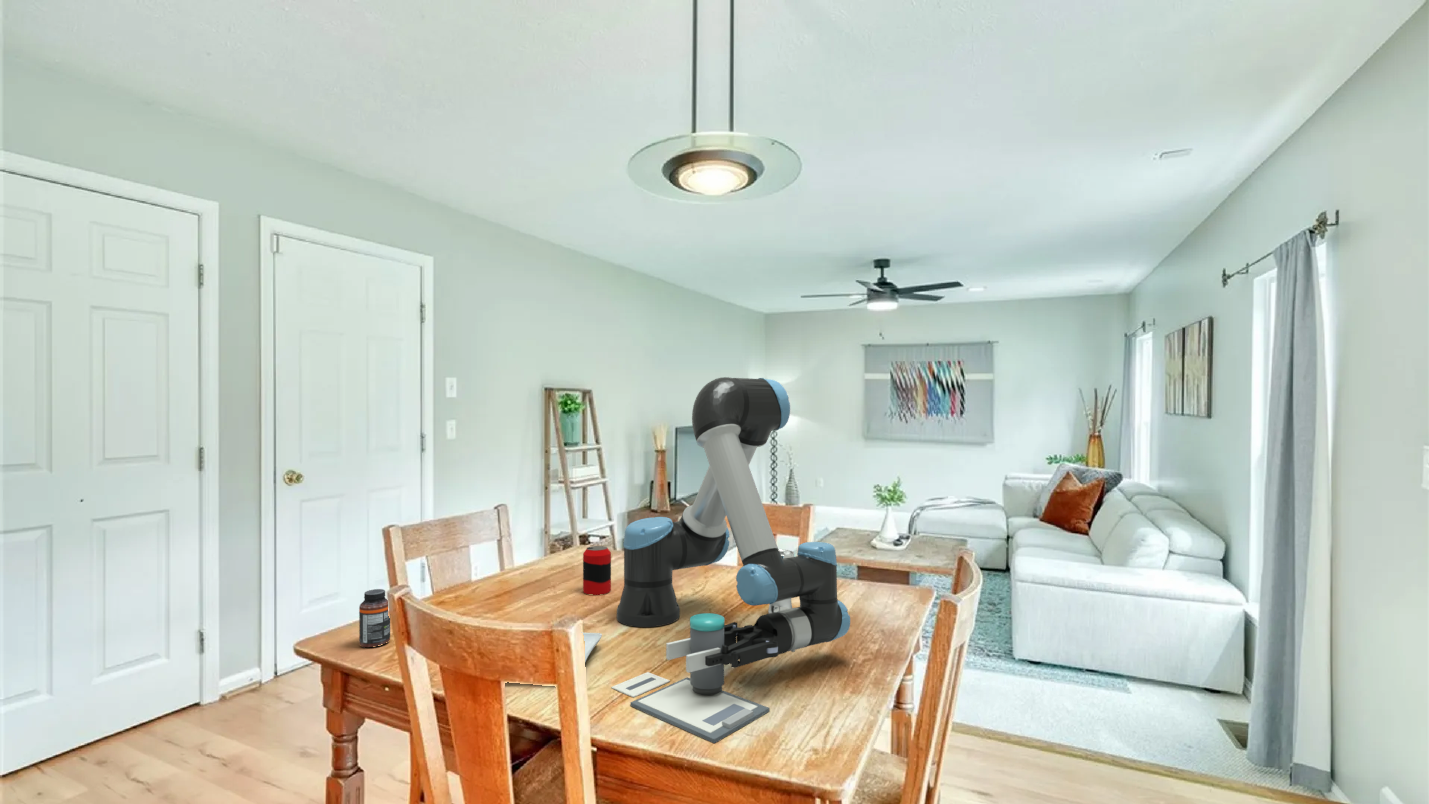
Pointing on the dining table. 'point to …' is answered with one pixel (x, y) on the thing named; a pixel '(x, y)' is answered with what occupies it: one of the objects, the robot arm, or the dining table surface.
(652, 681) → the word card
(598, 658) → the dining table surface
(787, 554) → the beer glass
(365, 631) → the supplement bottle
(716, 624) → the grey teal cylinder
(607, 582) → the soda can
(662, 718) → the clipboard
